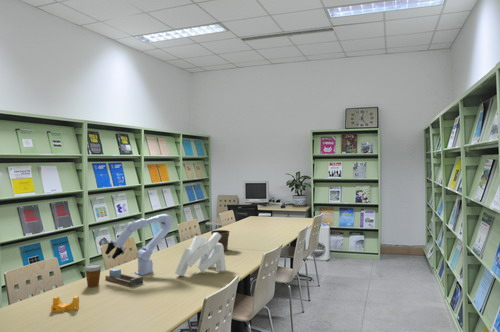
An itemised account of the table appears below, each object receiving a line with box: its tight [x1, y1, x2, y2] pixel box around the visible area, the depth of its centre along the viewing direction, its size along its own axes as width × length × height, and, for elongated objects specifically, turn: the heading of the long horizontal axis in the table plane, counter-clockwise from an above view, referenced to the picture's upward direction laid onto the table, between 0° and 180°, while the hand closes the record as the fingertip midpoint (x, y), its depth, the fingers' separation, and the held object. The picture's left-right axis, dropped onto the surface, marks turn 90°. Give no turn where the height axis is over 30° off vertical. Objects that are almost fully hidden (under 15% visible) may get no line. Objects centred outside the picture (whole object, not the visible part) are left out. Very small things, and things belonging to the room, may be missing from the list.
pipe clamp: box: [50, 295, 80, 313], centre depth 195 cm, size 12×4×6 cm, turn 93°
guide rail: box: [104, 273, 144, 287], centre depth 242 cm, size 9×25×4 cm, turn 57°
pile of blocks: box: [174, 232, 227, 277], centre depth 263 cm, size 35×30×35 cm
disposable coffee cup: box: [84, 263, 102, 288], centre depth 234 cm, size 10×10×12 cm
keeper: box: [109, 268, 122, 279], centre depth 247 cm, size 5×5×6 cm
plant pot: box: [210, 229, 231, 252], centre depth 330 cm, size 16×16×16 cm
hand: (109, 256), depth 247 cm, fingers open, 7 cm apart
